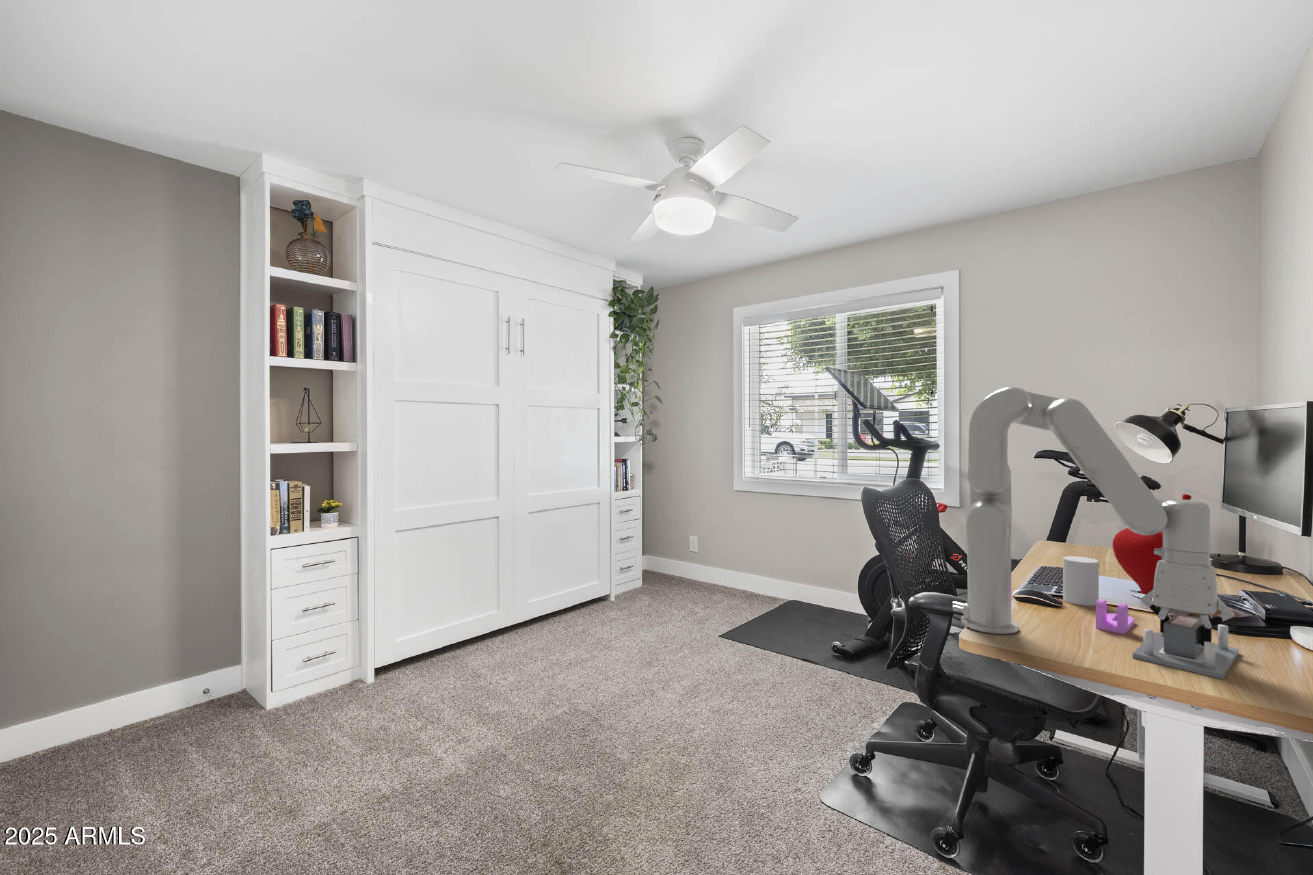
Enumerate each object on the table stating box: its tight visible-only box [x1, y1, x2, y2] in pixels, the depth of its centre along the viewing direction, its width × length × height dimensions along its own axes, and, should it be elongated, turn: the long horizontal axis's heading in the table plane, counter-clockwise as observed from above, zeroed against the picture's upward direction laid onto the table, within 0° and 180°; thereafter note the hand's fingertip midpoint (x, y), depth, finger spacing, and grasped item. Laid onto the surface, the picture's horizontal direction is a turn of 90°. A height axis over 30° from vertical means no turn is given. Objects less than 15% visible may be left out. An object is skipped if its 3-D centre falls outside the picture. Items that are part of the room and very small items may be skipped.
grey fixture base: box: [1132, 614, 1240, 680], centre depth 125 cm, size 14×20×6 cm
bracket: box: [1095, 598, 1135, 635], centre depth 145 cm, size 13×6×7 cm, turn 130°
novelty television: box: [1112, 493, 1192, 595], centre depth 165 cm, size 21×13×30 cm, turn 94°
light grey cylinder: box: [1062, 555, 1100, 607], centre depth 165 cm, size 8×8×12 cm
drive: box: [1164, 613, 1204, 659], centre depth 125 cm, size 5×11×6 cm, turn 128°
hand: (1185, 639), depth 125 cm, fingers open, 5 cm apart
